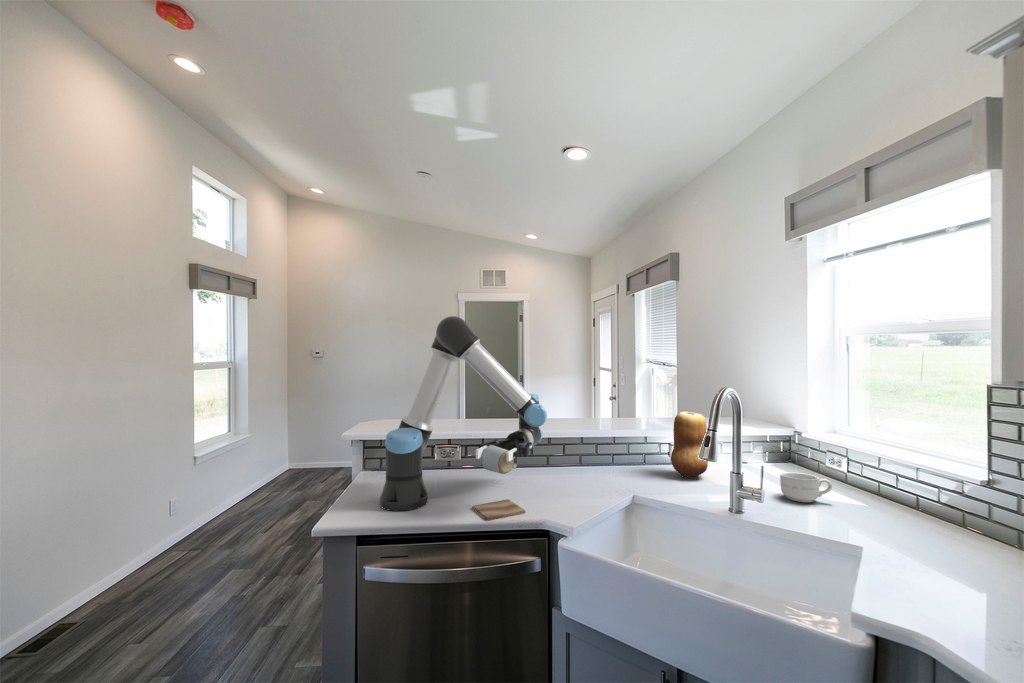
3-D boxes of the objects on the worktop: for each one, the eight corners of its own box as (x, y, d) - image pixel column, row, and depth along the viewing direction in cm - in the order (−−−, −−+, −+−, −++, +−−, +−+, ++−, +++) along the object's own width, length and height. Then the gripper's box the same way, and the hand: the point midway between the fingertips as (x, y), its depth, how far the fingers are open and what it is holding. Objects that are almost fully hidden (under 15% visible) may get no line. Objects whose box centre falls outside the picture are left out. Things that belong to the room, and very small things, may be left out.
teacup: (776, 500, 140) (776, 475, 140) (784, 492, 148) (783, 468, 148) (829, 510, 130) (828, 483, 131) (834, 501, 138) (833, 476, 139)
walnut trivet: (472, 508, 135) (472, 505, 135) (508, 501, 141) (508, 499, 141) (487, 520, 125) (487, 517, 125) (525, 513, 130) (525, 510, 130)
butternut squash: (708, 483, 158) (706, 415, 159) (669, 479, 164) (668, 413, 165) (708, 474, 171) (707, 410, 172) (672, 470, 176) (671, 409, 177)
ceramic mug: (499, 476, 128) (499, 450, 128) (480, 471, 133) (480, 446, 133) (522, 470, 135) (523, 445, 136) (504, 465, 141) (504, 442, 141)
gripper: (550, 455, 145) (526, 471, 125) (490, 450, 154) (459, 464, 133) (549, 432, 146) (526, 445, 125) (490, 429, 154) (459, 440, 134)
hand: (492, 455), depth 129 cm, fingers closed on ceramic mug, 9 cm apart
